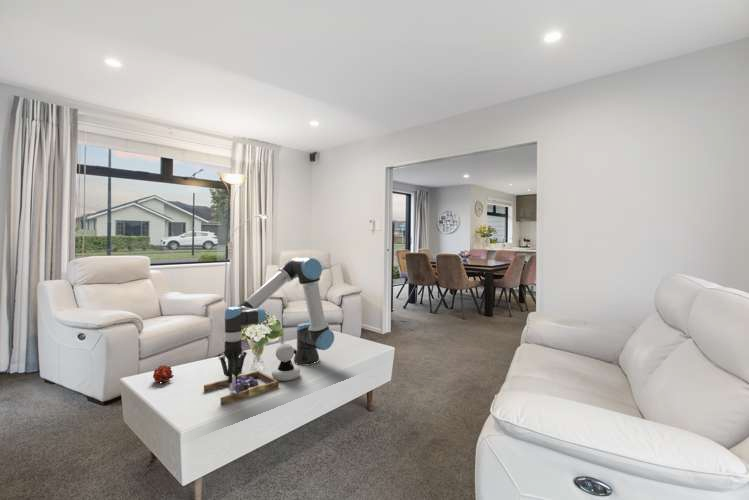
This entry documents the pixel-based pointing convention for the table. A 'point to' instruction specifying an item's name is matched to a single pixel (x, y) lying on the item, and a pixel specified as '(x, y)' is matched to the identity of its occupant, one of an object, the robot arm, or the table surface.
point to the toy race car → (245, 384)
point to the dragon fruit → (162, 374)
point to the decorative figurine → (285, 363)
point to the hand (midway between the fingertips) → (232, 389)
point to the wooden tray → (246, 393)
